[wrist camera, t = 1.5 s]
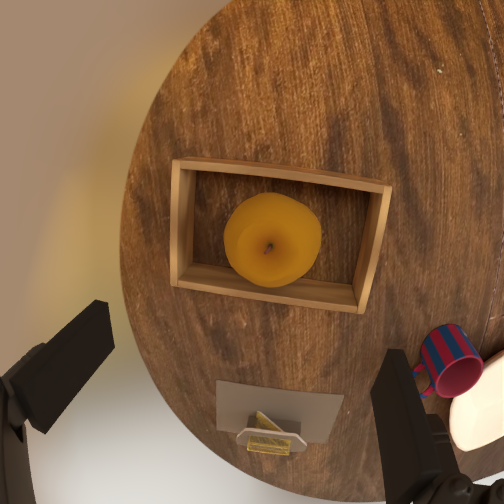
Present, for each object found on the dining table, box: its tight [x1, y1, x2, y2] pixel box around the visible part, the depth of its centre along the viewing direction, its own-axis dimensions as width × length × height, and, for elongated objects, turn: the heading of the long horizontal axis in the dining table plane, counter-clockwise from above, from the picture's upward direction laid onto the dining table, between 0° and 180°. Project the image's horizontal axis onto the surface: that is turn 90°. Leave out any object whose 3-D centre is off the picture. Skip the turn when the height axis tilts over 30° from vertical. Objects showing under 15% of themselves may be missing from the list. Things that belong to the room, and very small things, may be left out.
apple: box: [224, 192, 322, 288], centre depth 29 cm, size 9×8×9 cm
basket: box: [170, 156, 392, 314], centre depth 31 cm, size 13×20×5 cm, turn 85°
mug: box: [412, 324, 484, 400], centre depth 32 cm, size 7×10×7 cm
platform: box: [216, 380, 344, 455], centre depth 40 cm, size 12×18×7 cm, turn 86°
